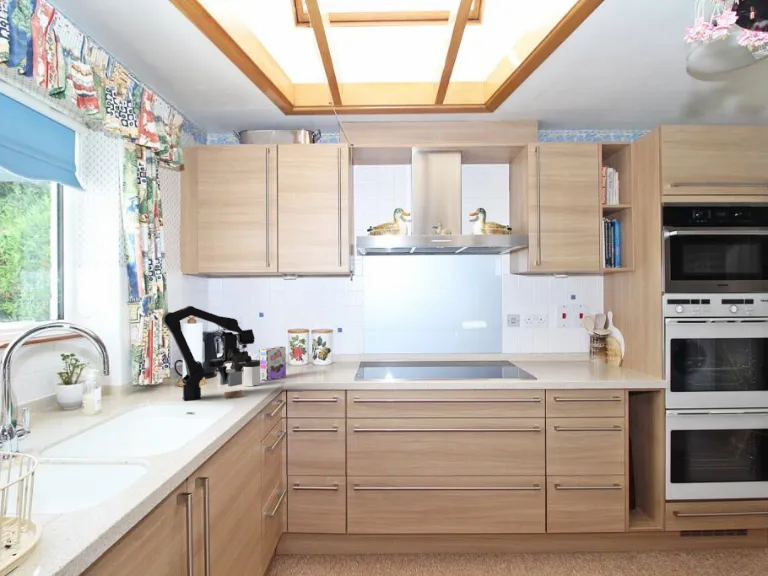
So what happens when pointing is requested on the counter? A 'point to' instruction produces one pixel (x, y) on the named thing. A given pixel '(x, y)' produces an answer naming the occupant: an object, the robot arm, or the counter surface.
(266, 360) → the candy box
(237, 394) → the brown rectangular block
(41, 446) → the counter surface
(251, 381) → the jar
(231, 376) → the gray rectangular block
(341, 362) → the counter surface
